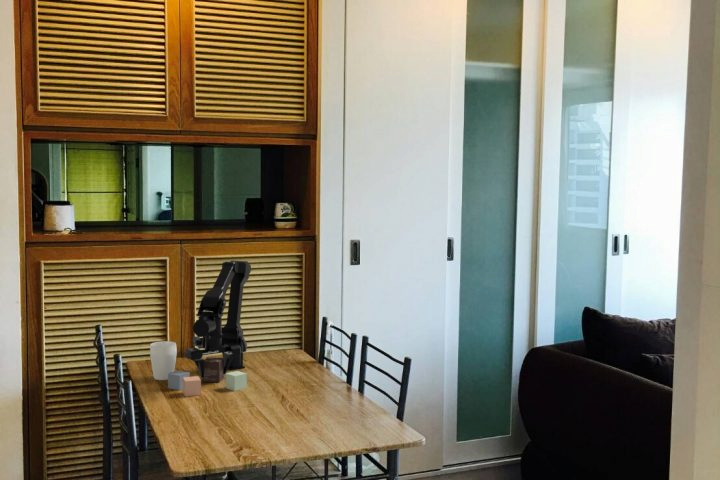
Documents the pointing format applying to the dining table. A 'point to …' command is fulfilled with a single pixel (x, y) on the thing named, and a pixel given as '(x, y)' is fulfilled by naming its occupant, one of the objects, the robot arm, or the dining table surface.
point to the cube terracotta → (191, 386)
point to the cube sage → (236, 380)
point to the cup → (163, 358)
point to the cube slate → (177, 379)
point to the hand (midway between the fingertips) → (213, 375)
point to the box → (213, 369)
